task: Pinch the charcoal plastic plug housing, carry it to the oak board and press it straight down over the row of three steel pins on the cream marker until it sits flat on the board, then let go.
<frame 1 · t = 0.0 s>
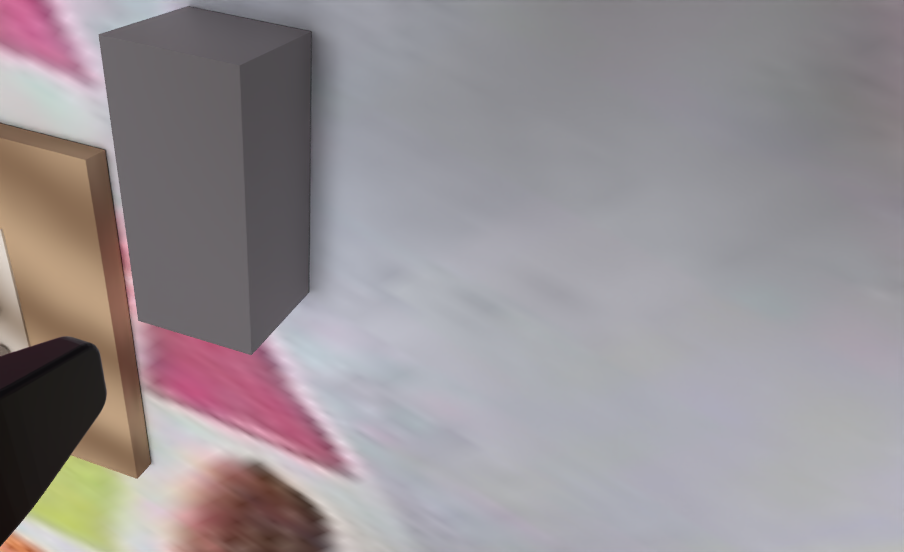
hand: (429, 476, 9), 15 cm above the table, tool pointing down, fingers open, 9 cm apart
pin board: (11, 291, 32), on the table
plug housing: (253, 161, 25), on the table
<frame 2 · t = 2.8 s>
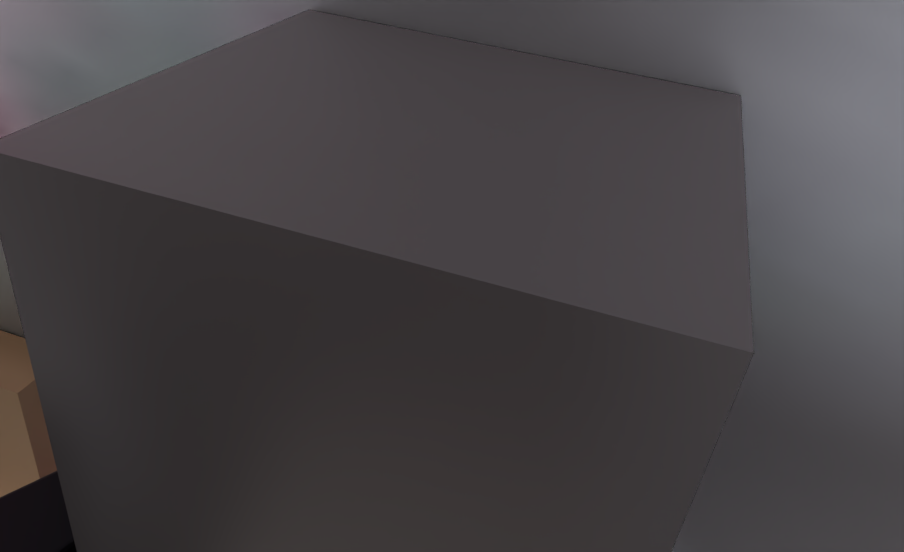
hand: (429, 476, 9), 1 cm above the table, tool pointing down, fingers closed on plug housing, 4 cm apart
plug housing: (455, 419, 10), on the table, touching gripper
when the fingers open (2 cm above the table, at t = 7.7 s): plug housing stays where it is, resting on pin board.
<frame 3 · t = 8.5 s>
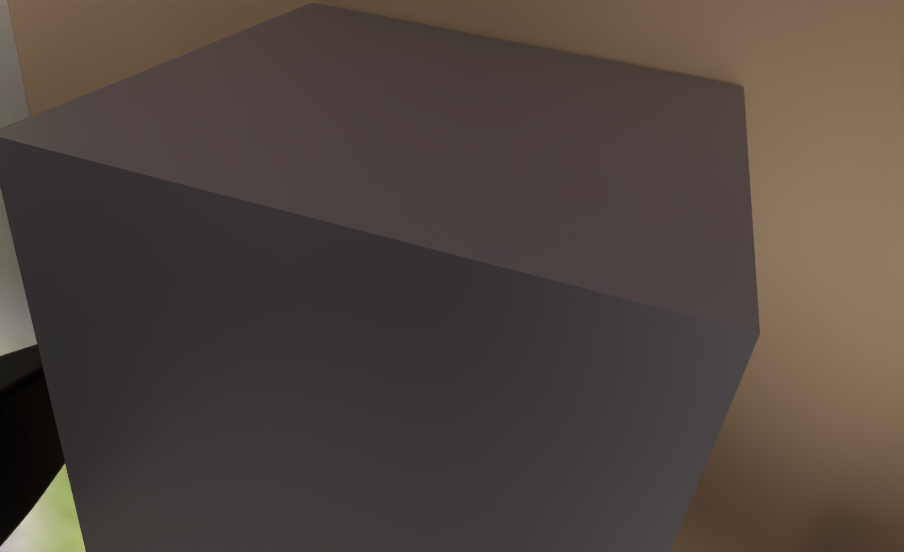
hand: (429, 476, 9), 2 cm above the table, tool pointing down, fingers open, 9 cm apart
pin board: (478, 364, 11), on the table
plug housing: (458, 412, 10), point 1 cm above the table, touching pin board
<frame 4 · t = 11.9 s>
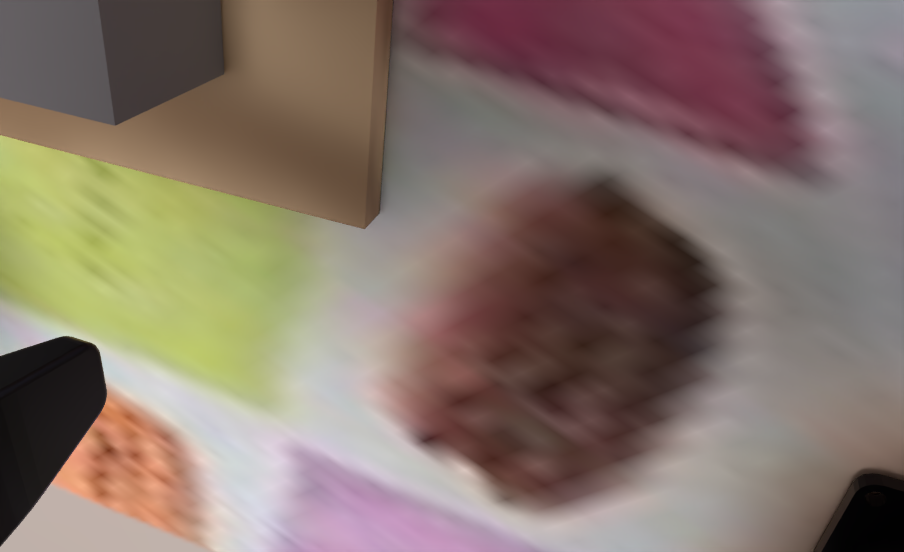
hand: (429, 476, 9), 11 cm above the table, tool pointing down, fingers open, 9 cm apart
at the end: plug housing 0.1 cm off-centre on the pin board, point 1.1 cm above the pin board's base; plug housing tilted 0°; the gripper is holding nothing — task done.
